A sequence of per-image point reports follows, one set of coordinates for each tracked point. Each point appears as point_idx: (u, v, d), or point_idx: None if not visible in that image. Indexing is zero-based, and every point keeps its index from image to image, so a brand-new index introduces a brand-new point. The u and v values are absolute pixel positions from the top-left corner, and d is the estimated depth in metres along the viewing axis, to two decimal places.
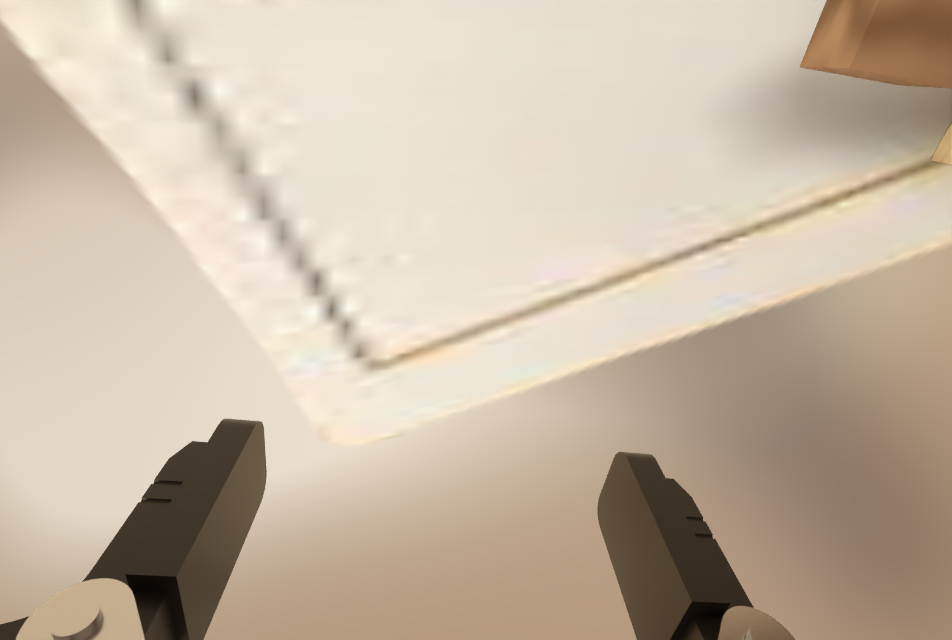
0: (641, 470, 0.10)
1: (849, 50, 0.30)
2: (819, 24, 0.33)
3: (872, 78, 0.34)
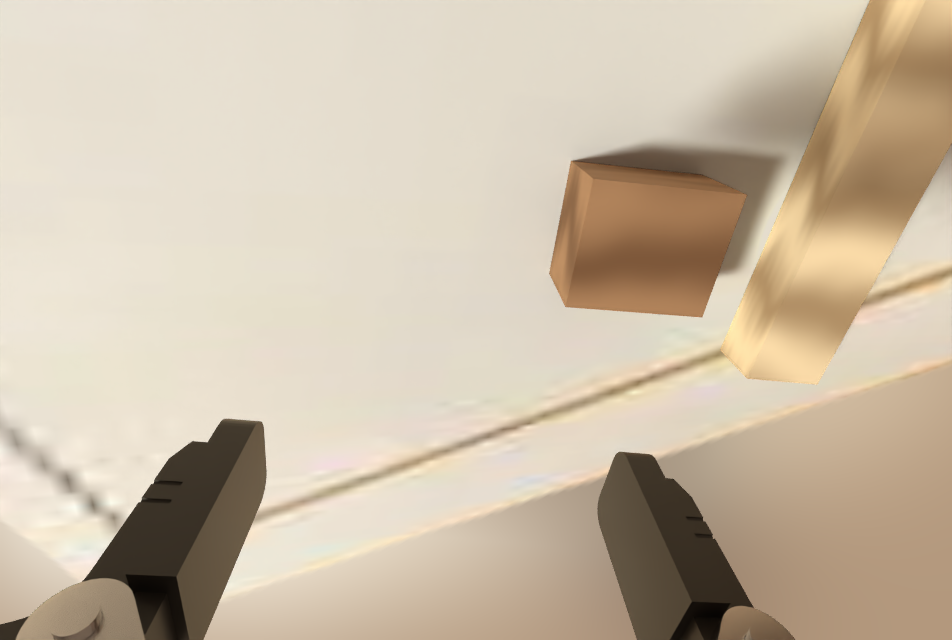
0: (641, 470, 0.10)
1: (566, 285, 0.27)
2: (557, 235, 0.30)
3: None
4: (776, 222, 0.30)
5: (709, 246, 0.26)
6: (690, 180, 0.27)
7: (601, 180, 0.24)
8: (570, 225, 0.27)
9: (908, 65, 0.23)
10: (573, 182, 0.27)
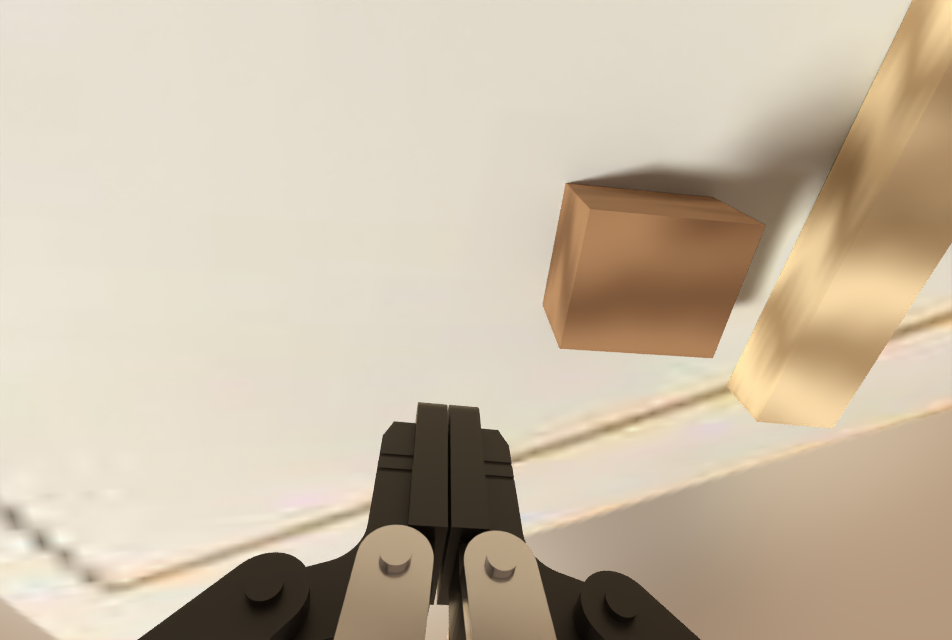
0: (460, 420, 0.11)
1: (560, 324, 0.24)
2: (551, 264, 0.27)
3: None
4: (793, 251, 0.27)
5: (722, 281, 0.23)
6: (700, 206, 0.23)
7: (599, 210, 0.21)
8: (565, 256, 0.24)
9: None
10: (568, 208, 0.24)
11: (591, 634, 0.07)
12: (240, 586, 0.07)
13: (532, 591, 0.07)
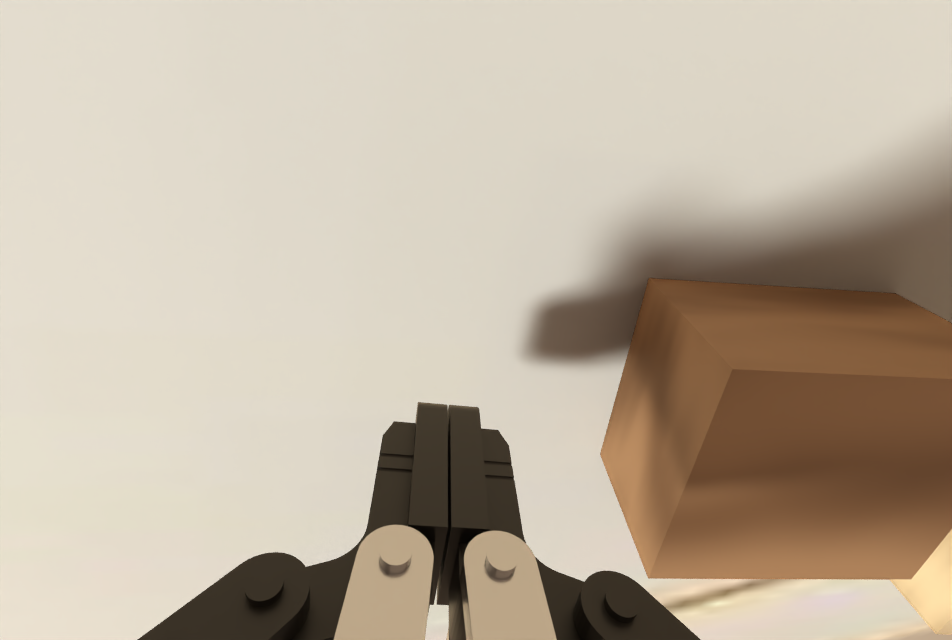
0: (460, 419, 0.11)
1: (648, 533, 0.14)
2: (618, 402, 0.16)
3: None
4: None
5: None
6: (903, 327, 0.13)
7: (750, 371, 0.10)
8: (655, 414, 0.14)
9: None
10: (660, 329, 0.14)
11: (591, 634, 0.07)
12: (240, 586, 0.07)
13: (532, 591, 0.07)
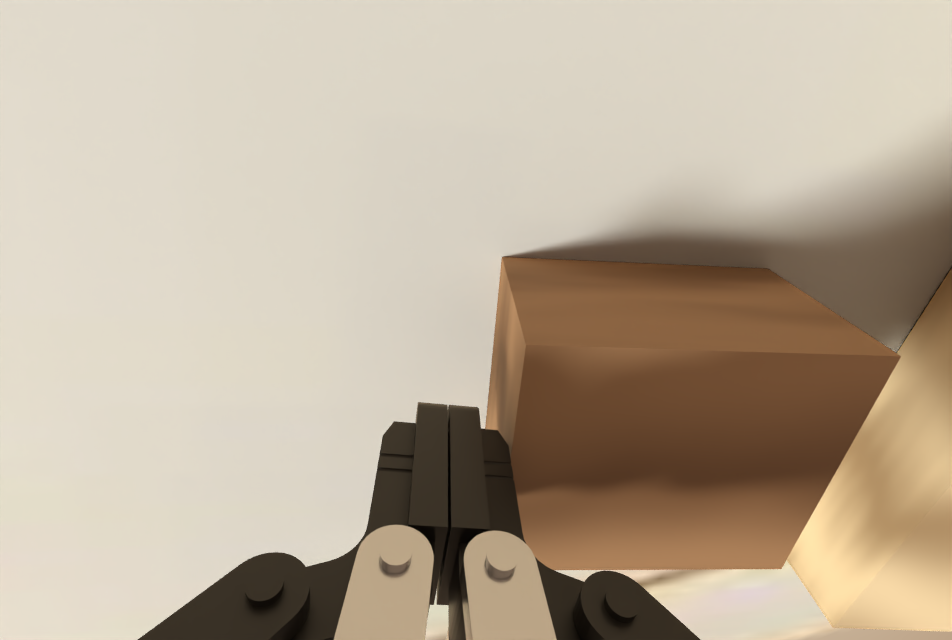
0: (460, 419, 0.11)
1: None
2: (489, 388, 0.16)
3: None
4: None
5: (804, 456, 0.12)
6: (752, 302, 0.12)
7: (546, 346, 0.10)
8: (501, 399, 0.13)
9: None
10: (504, 309, 0.13)
11: (591, 634, 0.07)
12: (240, 586, 0.07)
13: (532, 591, 0.07)
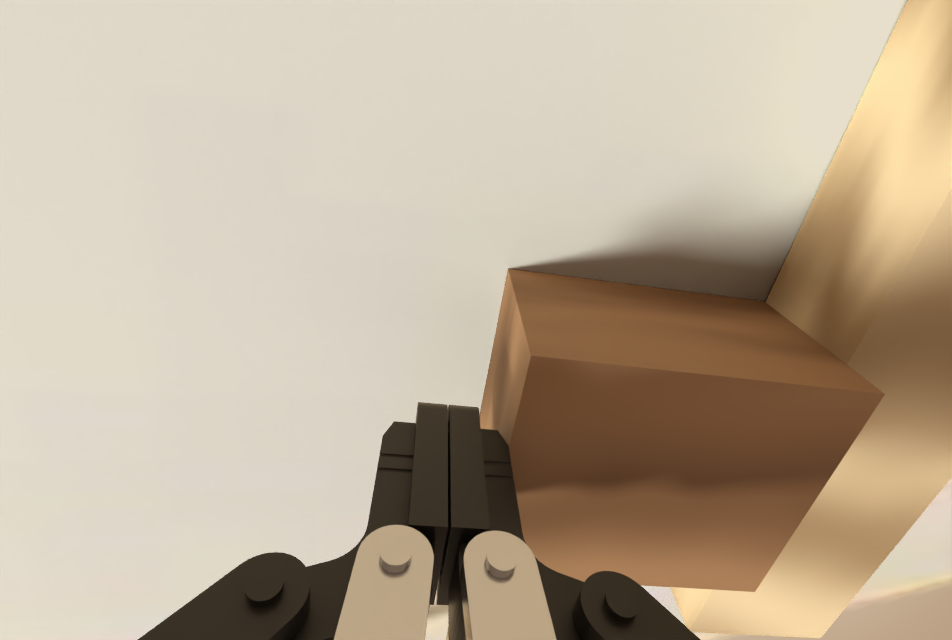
0: (459, 419, 0.11)
1: None
2: (484, 395, 0.16)
3: None
4: None
5: (786, 483, 0.12)
6: (747, 331, 0.13)
7: (550, 358, 0.10)
8: (497, 406, 0.13)
9: None
10: (507, 319, 0.13)
11: (591, 634, 0.07)
12: (240, 586, 0.07)
13: (532, 591, 0.07)
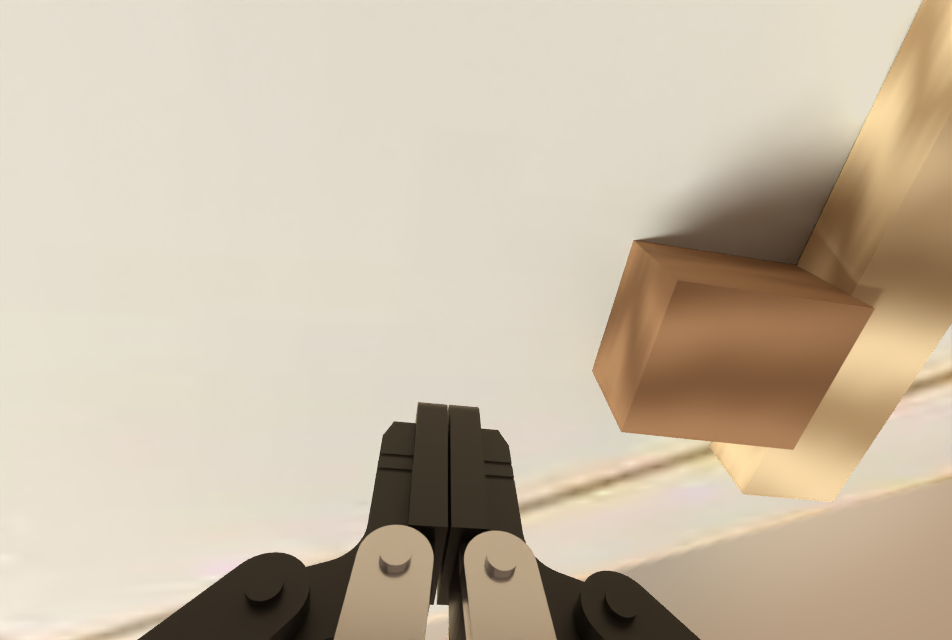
0: (460, 420, 0.11)
1: (623, 403, 0.21)
2: (607, 328, 0.24)
3: None
4: None
5: (816, 368, 0.20)
6: (790, 278, 0.20)
7: (687, 282, 0.18)
8: (632, 325, 0.21)
9: None
10: (638, 271, 0.21)
11: (591, 634, 0.07)
12: (240, 586, 0.07)
13: (532, 591, 0.07)
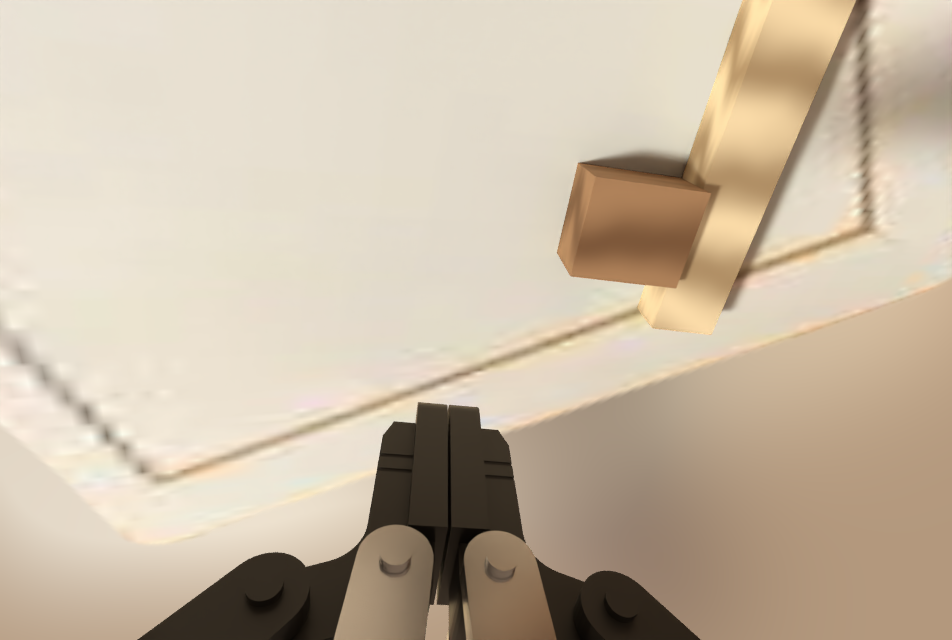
0: (460, 420, 0.11)
1: (571, 259, 0.35)
2: (564, 222, 0.37)
3: None
4: None
5: (682, 232, 0.34)
6: (669, 181, 0.34)
7: (601, 178, 0.32)
8: (576, 212, 0.35)
9: (755, 74, 0.30)
10: (580, 179, 0.35)
11: (591, 634, 0.07)
12: (240, 586, 0.07)
13: (532, 591, 0.07)
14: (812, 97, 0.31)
